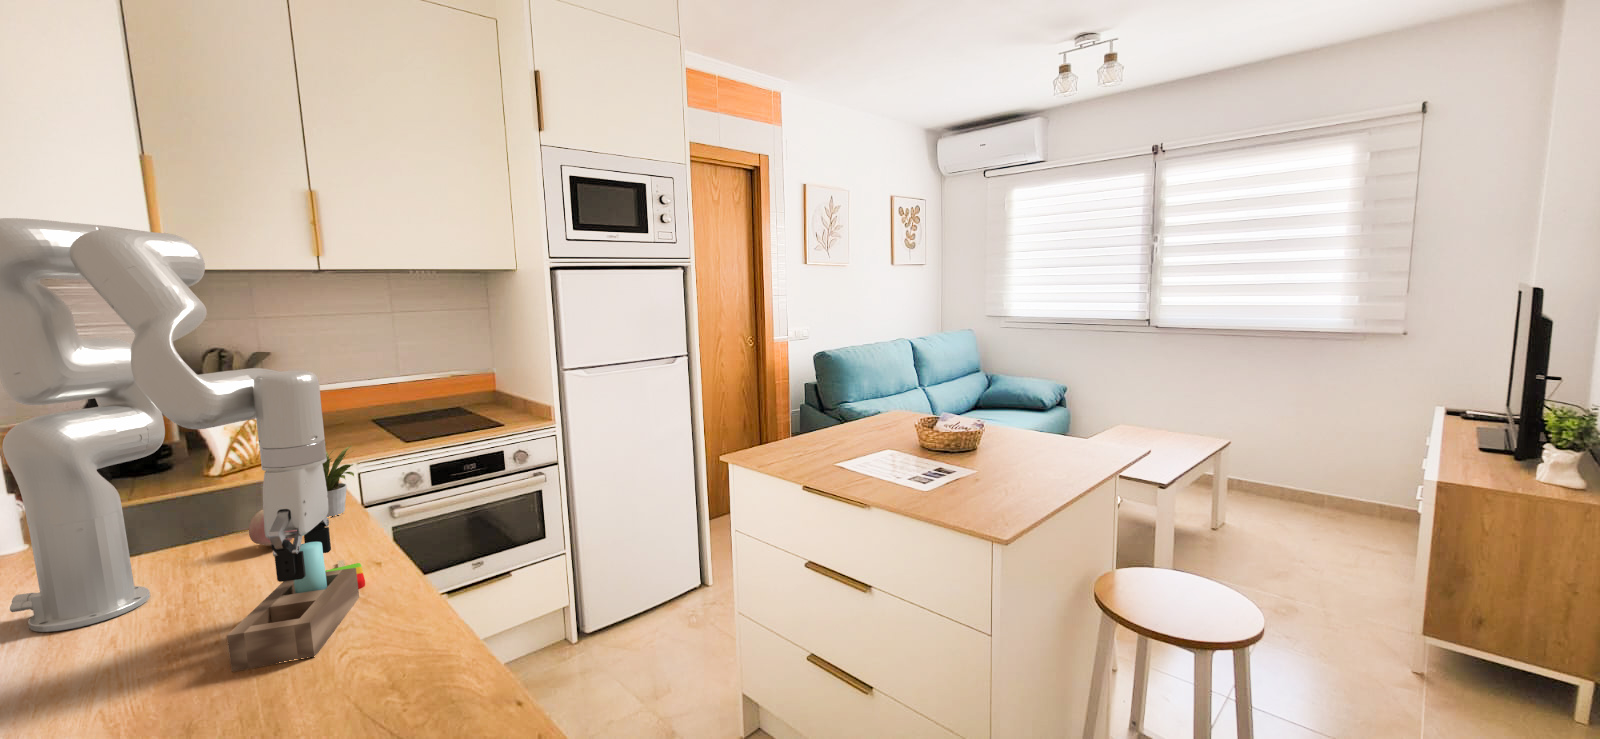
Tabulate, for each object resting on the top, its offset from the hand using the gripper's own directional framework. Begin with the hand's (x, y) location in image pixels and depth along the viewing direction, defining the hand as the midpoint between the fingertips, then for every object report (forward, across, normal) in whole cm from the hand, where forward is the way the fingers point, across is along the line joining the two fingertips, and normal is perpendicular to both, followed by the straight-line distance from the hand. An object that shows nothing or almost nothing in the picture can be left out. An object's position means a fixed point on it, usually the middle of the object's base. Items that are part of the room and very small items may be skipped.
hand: (305, 565), depth 95 cm
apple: (+9, -35, -18) cm, 40 cm away
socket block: (+8, +5, 0) cm, 9 cm away
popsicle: (+9, -14, 0) cm, 17 cm away
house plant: (+9, -52, -16) cm, 55 cm away
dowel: (+8, 0, 0) cm, 8 cm away
